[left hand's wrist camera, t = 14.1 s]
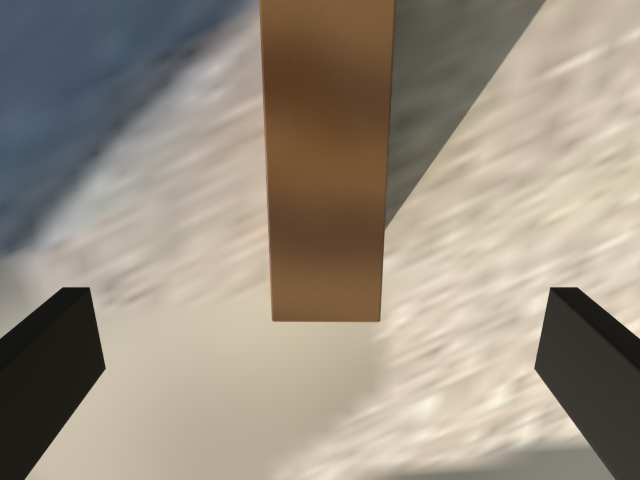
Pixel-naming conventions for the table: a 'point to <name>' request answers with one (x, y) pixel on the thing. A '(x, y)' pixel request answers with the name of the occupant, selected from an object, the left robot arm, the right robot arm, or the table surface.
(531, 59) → the table surface
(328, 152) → the post
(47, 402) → the left robot arm
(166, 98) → the table surface
